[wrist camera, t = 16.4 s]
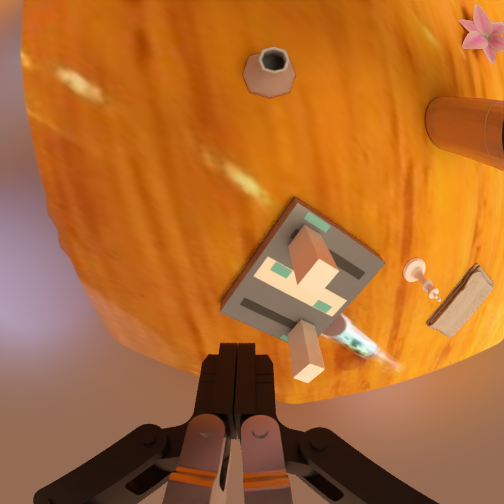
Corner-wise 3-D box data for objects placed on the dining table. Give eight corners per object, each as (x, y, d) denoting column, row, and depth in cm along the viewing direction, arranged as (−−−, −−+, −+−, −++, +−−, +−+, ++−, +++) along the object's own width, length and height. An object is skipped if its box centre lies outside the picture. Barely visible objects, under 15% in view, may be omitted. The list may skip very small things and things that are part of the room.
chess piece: (413, 284, 47) (437, 316, 38) (398, 274, 46) (422, 307, 37) (428, 264, 45) (455, 294, 36) (414, 253, 44) (441, 283, 35)
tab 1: (288, 246, 40) (297, 285, 31) (304, 224, 39) (319, 258, 30) (304, 256, 41) (317, 296, 32) (321, 234, 39) (339, 271, 30)
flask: (295, 51, 30) (308, 31, 21) (296, 99, 34) (310, 93, 25) (242, 51, 30) (237, 30, 22) (242, 98, 34) (238, 92, 25)
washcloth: (491, 279, 48) (498, 286, 45) (446, 334, 55) (452, 342, 52) (473, 259, 45) (481, 266, 42) (424, 321, 52) (429, 330, 50)
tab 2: (287, 333, 48) (293, 377, 39) (301, 319, 46) (309, 363, 37) (300, 339, 49) (308, 382, 40) (314, 325, 47) (324, 368, 38)
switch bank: (221, 301, 49) (219, 312, 46) (294, 196, 40) (297, 203, 37) (302, 338, 53) (304, 350, 50) (378, 254, 44) (385, 263, 41)
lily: (462, 5, 22) (471, -8, 16) (508, 38, 20) (524, 32, 14) (447, 43, 29) (455, 36, 23) (493, 77, 27) (508, 76, 21)
